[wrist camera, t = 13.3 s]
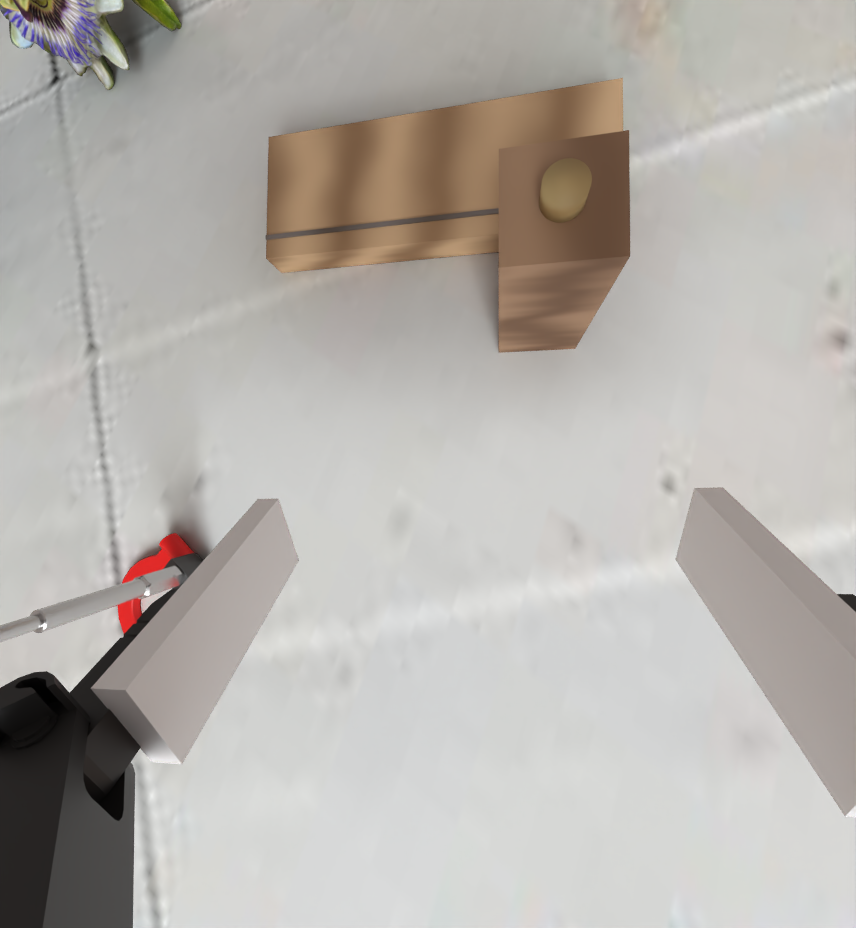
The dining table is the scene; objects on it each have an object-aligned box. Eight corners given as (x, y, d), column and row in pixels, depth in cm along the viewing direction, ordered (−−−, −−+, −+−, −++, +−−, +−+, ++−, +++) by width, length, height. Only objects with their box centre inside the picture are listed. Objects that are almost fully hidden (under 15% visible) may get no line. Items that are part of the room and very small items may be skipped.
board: (281, 272, 30) (265, 257, 28) (283, 159, 30) (268, 136, 28) (614, 240, 25) (624, 220, 23) (613, 108, 26) (622, 76, 24)
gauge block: (498, 352, 27) (498, 253, 15) (499, 281, 27) (498, 127, 15) (574, 348, 26) (639, 240, 14) (574, 274, 26) (637, 106, 14)
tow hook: (177, 679, 31) (243, 598, 30) (-55, 827, 18) (43, 698, 17) (114, 603, 32) (175, 522, 31) (-142, 692, 20) (-58, 563, 18)
